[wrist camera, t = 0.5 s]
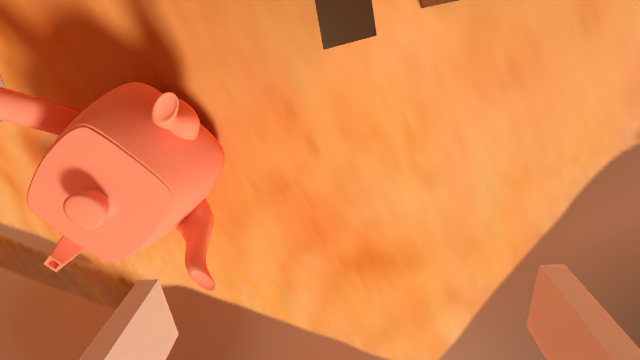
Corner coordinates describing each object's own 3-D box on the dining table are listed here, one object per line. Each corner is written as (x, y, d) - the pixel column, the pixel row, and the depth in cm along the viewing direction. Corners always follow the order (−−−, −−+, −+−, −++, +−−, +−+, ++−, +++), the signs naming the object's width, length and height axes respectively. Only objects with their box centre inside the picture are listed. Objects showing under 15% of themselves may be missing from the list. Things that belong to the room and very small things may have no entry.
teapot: (229, 66, 36) (170, 94, 24) (248, 219, 44) (212, 301, 31) (60, 70, 37) (-82, 98, 25) (108, 218, 45) (20, 297, 33)
